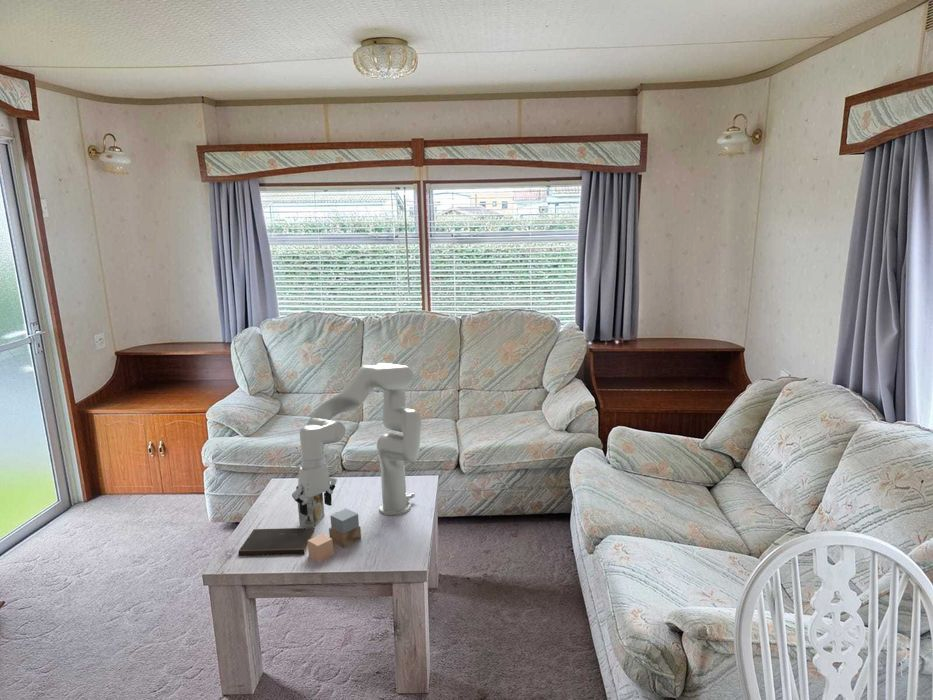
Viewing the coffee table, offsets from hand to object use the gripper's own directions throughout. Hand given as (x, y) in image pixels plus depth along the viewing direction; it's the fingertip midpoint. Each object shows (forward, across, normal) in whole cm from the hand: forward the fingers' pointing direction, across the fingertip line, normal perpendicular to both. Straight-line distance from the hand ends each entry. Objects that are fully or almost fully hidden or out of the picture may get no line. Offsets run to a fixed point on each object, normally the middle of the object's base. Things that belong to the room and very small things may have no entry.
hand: (316, 509), depth 203 cm
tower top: (+12, -13, -2) cm, 18 cm away
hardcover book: (+18, +4, -19) cm, 27 cm away
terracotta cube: (+18, -1, 0) cm, 18 cm away
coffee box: (+17, -14, -24) cm, 33 cm away
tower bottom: (+17, -13, -2) cm, 22 cm away
